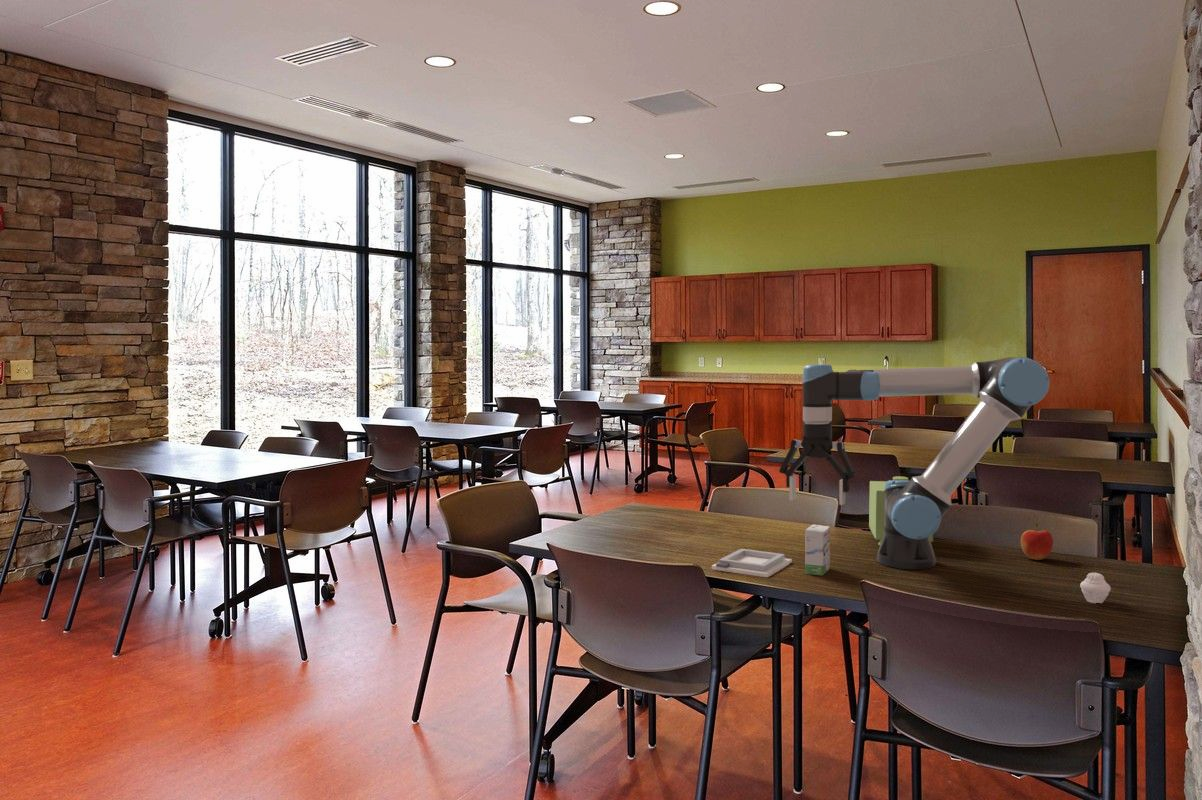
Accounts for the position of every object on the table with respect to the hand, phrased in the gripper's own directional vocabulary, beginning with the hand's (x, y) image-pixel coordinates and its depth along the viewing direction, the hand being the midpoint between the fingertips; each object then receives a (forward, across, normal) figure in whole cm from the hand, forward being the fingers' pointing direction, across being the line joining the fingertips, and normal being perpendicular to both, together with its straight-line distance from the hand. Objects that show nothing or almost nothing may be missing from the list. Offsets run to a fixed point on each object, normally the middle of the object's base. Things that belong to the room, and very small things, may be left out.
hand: (817, 502), depth 227 cm
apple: (+19, -48, -44) cm, 68 cm away
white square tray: (+18, +17, +4) cm, 25 cm away
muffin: (+19, -64, -7) cm, 67 cm away
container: (+19, -10, -47) cm, 52 cm away
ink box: (+19, 0, 0) cm, 19 cm away
